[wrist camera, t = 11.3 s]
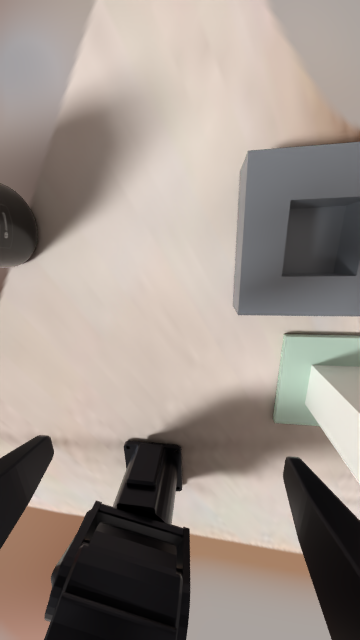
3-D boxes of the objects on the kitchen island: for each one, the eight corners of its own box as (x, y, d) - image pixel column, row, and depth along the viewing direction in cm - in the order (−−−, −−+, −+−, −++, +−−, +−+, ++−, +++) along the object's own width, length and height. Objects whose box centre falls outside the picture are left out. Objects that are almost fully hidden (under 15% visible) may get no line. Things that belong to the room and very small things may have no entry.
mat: (372, 424, 20) (377, 430, 19) (272, 418, 21) (274, 422, 20) (399, 336, 17) (405, 339, 16) (283, 334, 18) (286, 336, 17)
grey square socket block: (359, 306, 17) (391, 316, 14) (232, 305, 18) (238, 315, 15) (393, 160, 14) (443, 135, 11) (240, 171, 15) (248, 150, 12)
